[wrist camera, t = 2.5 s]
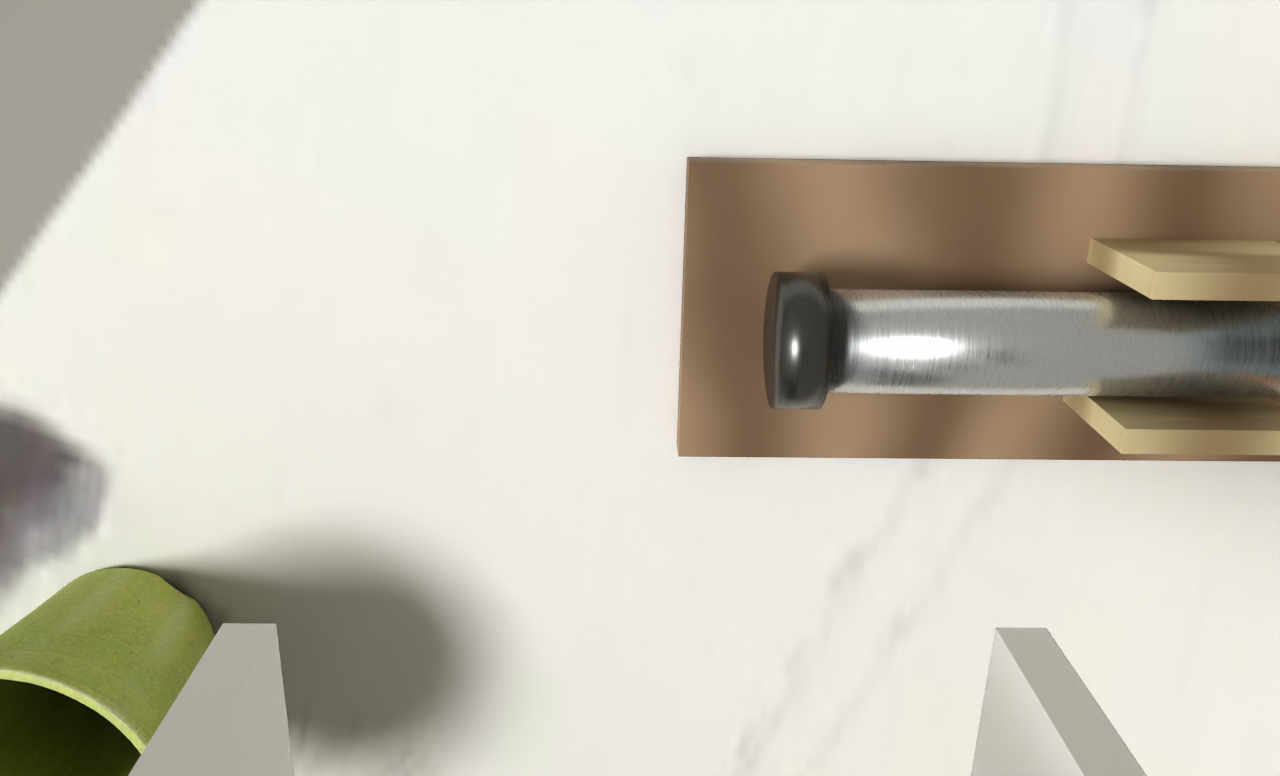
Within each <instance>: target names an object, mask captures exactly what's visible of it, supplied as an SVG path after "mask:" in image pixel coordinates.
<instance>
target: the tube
mask: <svg viewBox="0 0 1280 776" xmlns="http://www.w3.org/2000/svg"><path fill="white" fill-rule="evenodd" d="M763 364H764V380H765V388H766V395H767V400H768V403H769V406H770V407H771V409H814V410H819V409H821V408H822V406H823V404H824V402H825V400H826V397H827V393H847V394H945V395H1043V396H1141V397H1239V398H1280V301H1220V300H1152V299H1150V298H1148V297H1147V296H1145V295H1143V294H1141V293H1118V292H1042V291H965V290H888V289H829V285H828V281H827V278H826V276H825V275H824V274H823V273H822V272H773V274H772V276H771V278H770V281H769V285H768V290H767V296H766V304H765V314H764V332H763Z"/></svg>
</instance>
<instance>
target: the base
mask: <svg viewBox="0 0 1280 776" xmlns="http://www.w3.org/2000/svg"><path fill="white" fill-rule="evenodd" d="M773 272H822V273H823V274H824V275H825V276H826V278H827V281H828V285H829V289H888V290H965V291H1042V292H1118V293H1141V294H1143V295H1145V296H1147V297H1148V298H1150V299H1152V300H1220V301H1280V167H1238V166H1178V165H1118V164H1058V163H997V162H937V161H877V160H816V159H756V158H696V157H687V173H686V201H685V230H684V258H683V287H682V315H681V344H680V372H679V401H678V430H677V448H678V456H693V457H811V458H930V459H1048V460H1167V461H1280V398H1239V397H1141V396H1043V395H945V394H847V393H827V397H826V400H825V402H824V404H823V406H822V408H821V409H819V410H814V409H771V407H770V406H769V403H768V400H767V395H766V388H765V380H764V364H763V332H764V314H765V304H766V296H767V290H768V285H769V281H770V278H771V276H772V274H773Z"/></svg>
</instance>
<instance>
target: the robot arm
mask: <svg viewBox="0 0 1280 776" xmlns="http://www.w3.org/2000/svg"><path fill="white" fill-rule="evenodd" d="M128 776H294V771H293V762H292V754H291V745H290V737H289V728H288V720H287V711H286V703H285V694H284V686H283V677H282V669H281V660H280V652H279V643H278V635H277V626H276V624H264V623H223V624H222V626H221V627H220V629H219V630H218V632H217V634H216V635H215V637H214V639H213V640H212V642H211V643H210V645H209V647H208V648H207V650H206V651H205V653H204V655H203V656H202V658H201V659H200V661H199V663H198V664H197V666H196V667H195V669H194V671H193V672H192V674H191V675H190V677H189V679H188V680H187V682H186V684H185V685H184V687H183V688H182V690H181V692H180V693H179V695H178V696H177V698H176V700H175V701H174V703H173V704H172V706H171V708H170V709H169V711H168V712H167V714H166V716H165V717H164V719H163V721H162V722H161V724H160V725H159V727H158V729H157V730H156V732H155V733H154V735H153V737H152V738H151V740H150V741H149V743H148V745H147V746H146V748H145V749H144V751H143V753H142V754H141V756H140V757H139V759H138V761H137V762H136V764H135V766H134V767H133V769H132V770H131V772H130V774H129V775H128ZM971 776H1147V775H1146V774H1145V772H1144V771H1143V769H1142V768H1141V766H1140V765H1139V763H1138V762H1137V760H1136V759H1135V758H1134V756H1133V755H1132V753H1131V752H1130V750H1129V749H1128V747H1127V746H1126V744H1125V743H1124V741H1123V740H1122V738H1121V737H1120V735H1119V734H1118V733H1117V731H1116V730H1115V728H1114V727H1113V725H1112V724H1111V722H1110V721H1109V719H1108V718H1107V716H1106V715H1105V713H1104V712H1103V710H1102V709H1101V708H1100V706H1099V705H1098V703H1097V702H1096V700H1095V699H1094V697H1093V696H1092V694H1091V693H1090V691H1089V690H1088V688H1087V687H1086V686H1085V684H1084V683H1083V681H1082V680H1081V678H1080V677H1079V675H1078V674H1077V672H1076V671H1075V669H1074V668H1073V666H1072V665H1071V663H1070V662H1069V661H1068V659H1067V658H1066V656H1065V655H1064V653H1063V652H1062V650H1061V649H1060V647H1059V646H1058V644H1057V643H1056V641H1055V640H1054V638H1053V637H1052V636H1051V634H1050V633H1049V631H1048V630H1047V628H995V634H994V640H993V646H992V652H991V658H990V664H989V670H988V676H987V682H986V688H985V694H984V700H983V706H982V712H981V718H980V724H979V730H978V736H977V742H976V748H975V754H974V760H973V766H972V772H971Z"/></svg>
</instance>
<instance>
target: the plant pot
mask: <svg viewBox="0 0 1280 776" xmlns="http://www.w3.org/2000/svg"><path fill="white" fill-rule="evenodd" d="M213 639H214V633H213V629H212V626H211V624H210V622H209V620H208V618H207V615H206V614H205V612H204V611H203V609H202V608H201V606H200V605H199V604H198V603H197V602H196V600H194V599H192V598H190V597H188V596H186V595H184V594H182V593H181V592H179V591H178V590H176V589H175V588H174V587H172V586H171V585H170V584H168V583H167V582H166V581H165V580H164V579H163V578H162V577H160V576H159V575H156V574H153V573H150V572H147V571H143V570H138V569H131V568H109V569H102V570H97V571H94V572H90V573H87V574H85V575H82V576H80V577H78V578H76V579H75V580H73V581H72V582H70V583H69V584H67V585H66V586H65V587H64V588H62V589H61V590H60V591H58V592H57V593H56V594H55V595H53V596H52V597H51V598H49V599H48V600H47V601H45V602H44V603H43V604H41V605H40V606H39V607H38V608H36V609H35V610H34V611H32V612H31V613H30V614H28V615H27V616H26V617H24V618H23V619H22V620H20V621H19V622H17V623H16V624H15V625H13V626H12V627H11V628H9V629H8V630H7V631H5V632H4V633H3V634H1V635H0V776H128V775H129V774H130V772H131V770H132V769H133V767H134V766H135V764H136V762H137V761H138V759H139V757H140V756H141V754H142V753H143V751H144V749H145V748H146V746H147V745H148V743H149V741H150V740H151V738H152V737H153V735H154V733H155V732H156V730H157V729H158V727H159V725H160V724H161V722H162V721H163V719H164V717H165V716H166V714H167V712H168V711H169V709H170V708H171V706H172V704H173V703H174V701H175V700H176V698H177V696H178V695H179V693H180V692H181V690H182V688H183V687H184V685H185V684H186V682H187V680H188V679H189V677H190V675H191V674H192V672H193V671H194V669H195V667H196V666H197V664H198V663H199V661H200V659H201V658H202V656H203V655H204V653H205V651H206V650H207V648H208V647H209V645H210V643H211V642H212V640H213Z"/></svg>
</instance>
